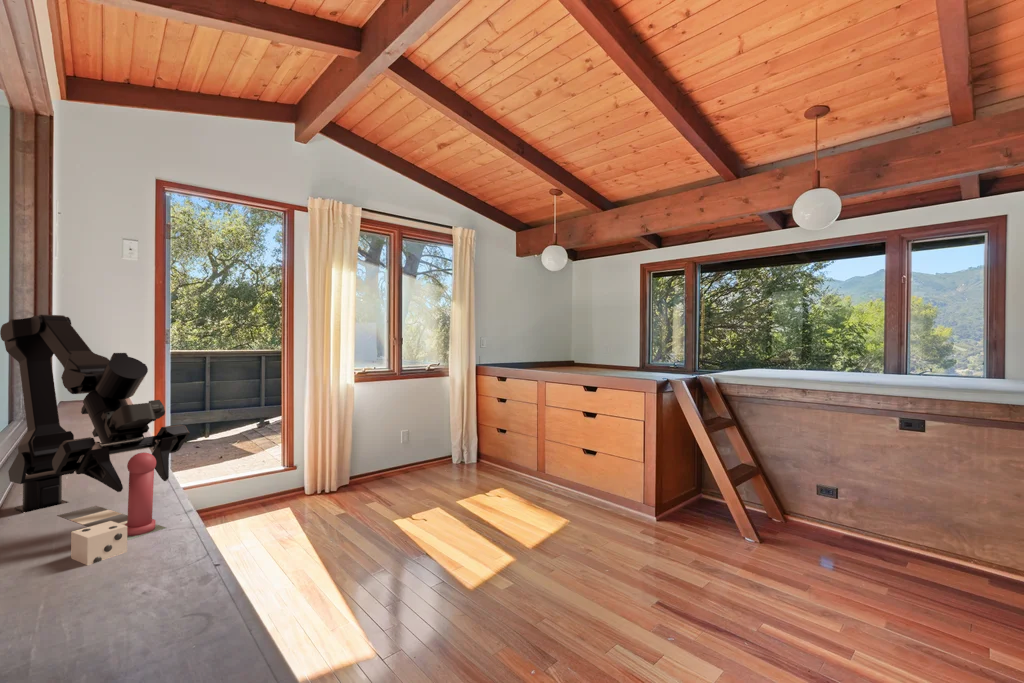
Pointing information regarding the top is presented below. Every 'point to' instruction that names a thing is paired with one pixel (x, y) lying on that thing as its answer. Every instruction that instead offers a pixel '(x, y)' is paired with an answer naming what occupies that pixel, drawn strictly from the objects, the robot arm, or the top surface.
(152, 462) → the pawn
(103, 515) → the board
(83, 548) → the die
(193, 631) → the top surface
